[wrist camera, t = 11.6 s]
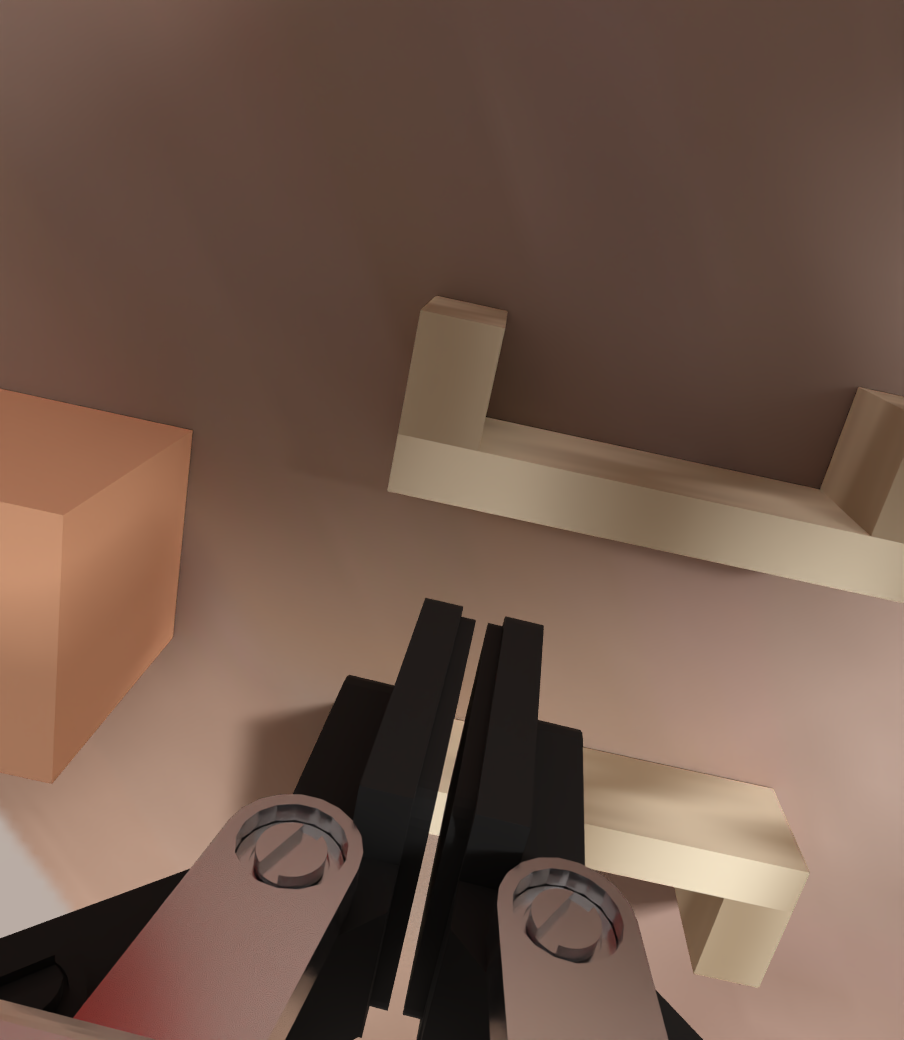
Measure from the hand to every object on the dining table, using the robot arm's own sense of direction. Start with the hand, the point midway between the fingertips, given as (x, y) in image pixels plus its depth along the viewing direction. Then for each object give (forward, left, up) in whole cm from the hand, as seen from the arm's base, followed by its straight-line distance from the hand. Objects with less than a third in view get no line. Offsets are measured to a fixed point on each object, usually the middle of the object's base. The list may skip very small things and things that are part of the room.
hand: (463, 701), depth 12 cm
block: (+10, +3, -9) cm, 14 cm away
